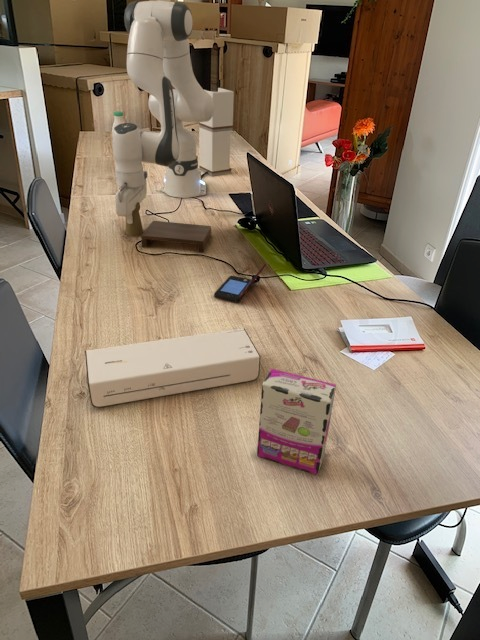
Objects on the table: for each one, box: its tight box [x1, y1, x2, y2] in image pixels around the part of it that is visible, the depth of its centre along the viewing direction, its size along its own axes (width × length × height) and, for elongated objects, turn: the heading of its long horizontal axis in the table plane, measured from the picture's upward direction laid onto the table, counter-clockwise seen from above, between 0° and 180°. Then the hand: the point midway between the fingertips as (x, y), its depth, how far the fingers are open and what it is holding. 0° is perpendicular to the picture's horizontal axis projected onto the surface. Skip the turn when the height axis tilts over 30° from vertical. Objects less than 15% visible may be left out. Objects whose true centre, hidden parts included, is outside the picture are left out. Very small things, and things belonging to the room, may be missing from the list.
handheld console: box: [213, 263, 267, 304], centre depth 133 cm, size 12×11×7 cm
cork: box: [124, 202, 144, 237], centre depth 163 cm, size 6×6×11 cm
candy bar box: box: [256, 368, 337, 476], centre depth 82 cm, size 11×5×16 cm, turn 69°
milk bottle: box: [111, 110, 126, 137], centre depth 246 cm, size 8×8×20 cm
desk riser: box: [140, 220, 212, 254], centre depth 160 cm, size 13×20×4 cm, turn 82°
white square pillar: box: [198, 87, 235, 177], centre depth 222 cm, size 11×11×35 cm
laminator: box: [84, 327, 262, 409], centre depth 102 cm, size 34×12×6 cm, turn 107°
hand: (133, 219), depth 164 cm, fingers closed on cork, 4 cm apart
